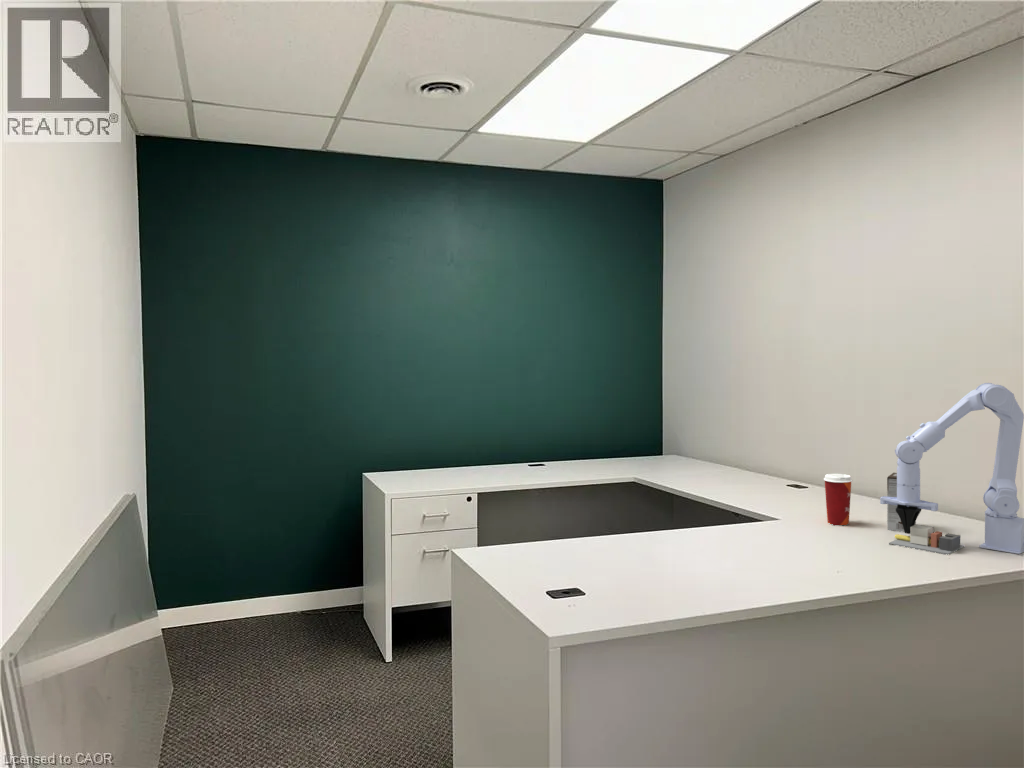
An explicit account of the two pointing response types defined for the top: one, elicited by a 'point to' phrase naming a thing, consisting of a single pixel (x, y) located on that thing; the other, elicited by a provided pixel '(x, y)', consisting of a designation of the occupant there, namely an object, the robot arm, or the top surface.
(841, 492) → the coffee cup
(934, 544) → the orange thin flat block
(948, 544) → the dark grey hollow block
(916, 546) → the mat
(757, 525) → the top surface
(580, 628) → the top surface
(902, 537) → the yellow thin rod
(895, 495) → the coffee box
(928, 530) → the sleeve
